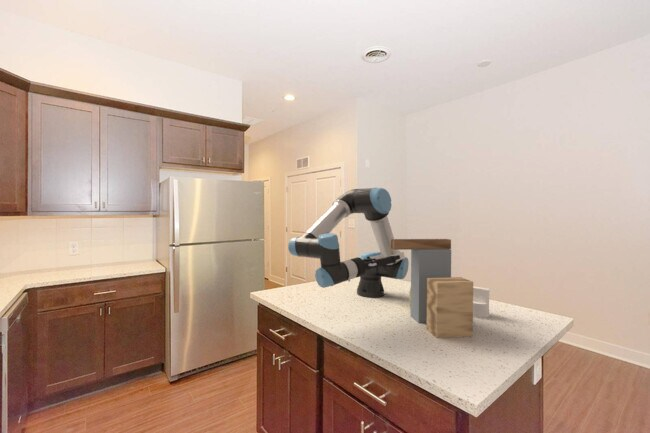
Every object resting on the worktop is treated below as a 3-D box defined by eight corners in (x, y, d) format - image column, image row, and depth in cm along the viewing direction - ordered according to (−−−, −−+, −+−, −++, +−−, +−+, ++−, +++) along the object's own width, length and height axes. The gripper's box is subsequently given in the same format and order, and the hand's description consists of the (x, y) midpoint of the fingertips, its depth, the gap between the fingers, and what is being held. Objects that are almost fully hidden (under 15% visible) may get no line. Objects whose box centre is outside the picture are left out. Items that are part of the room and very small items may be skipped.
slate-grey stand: (410, 316, 132) (411, 247, 132) (440, 315, 134) (441, 247, 134) (418, 322, 124) (419, 250, 124) (450, 321, 126) (451, 249, 126)
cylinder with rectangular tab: (463, 314, 135) (463, 287, 135) (470, 309, 142) (470, 284, 142) (485, 319, 129) (486, 291, 129) (491, 314, 136) (491, 287, 136)
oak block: (426, 329, 117) (427, 277, 117) (460, 327, 119) (460, 277, 119) (436, 337, 110) (437, 282, 109) (472, 336, 111) (473, 281, 111)
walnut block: (390, 248, 129) (390, 239, 129) (445, 248, 132) (446, 238, 132) (394, 249, 125) (394, 239, 125) (450, 249, 128) (451, 239, 128)
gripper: (338, 277, 130) (377, 265, 140) (374, 278, 108) (416, 263, 119) (334, 260, 131) (373, 249, 141) (369, 257, 109) (411, 244, 119)
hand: (392, 256), depth 130 cm, fingers open, 13 cm apart
